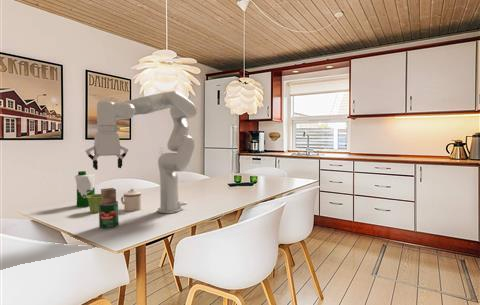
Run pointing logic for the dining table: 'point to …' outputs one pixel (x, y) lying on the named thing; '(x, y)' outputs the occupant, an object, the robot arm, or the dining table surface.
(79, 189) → the milk carton
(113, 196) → the walnut block
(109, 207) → the canned tomato
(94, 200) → the plant pot
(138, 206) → the teacup with lid
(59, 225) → the dining table surface
